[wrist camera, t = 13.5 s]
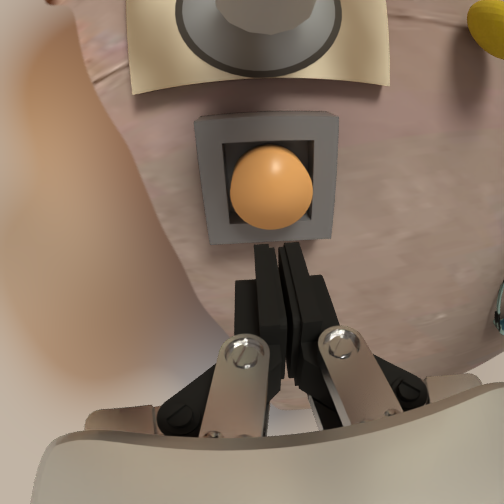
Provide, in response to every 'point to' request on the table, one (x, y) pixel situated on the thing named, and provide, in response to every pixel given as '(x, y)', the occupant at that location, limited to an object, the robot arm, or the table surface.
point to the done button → (270, 187)
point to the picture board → (254, 45)
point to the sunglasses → (501, 324)
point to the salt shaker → (266, 14)
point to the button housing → (262, 133)
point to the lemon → (488, 26)
